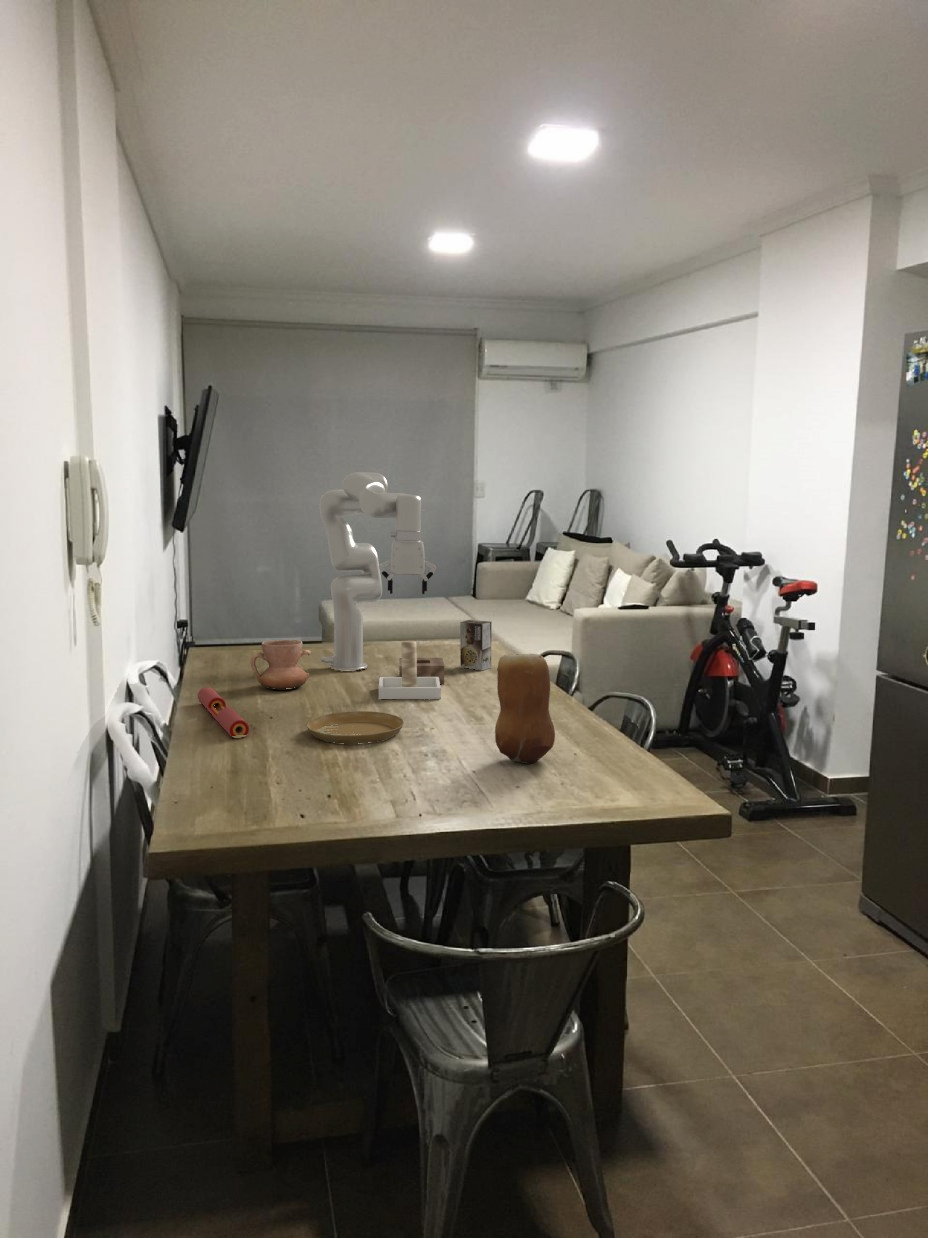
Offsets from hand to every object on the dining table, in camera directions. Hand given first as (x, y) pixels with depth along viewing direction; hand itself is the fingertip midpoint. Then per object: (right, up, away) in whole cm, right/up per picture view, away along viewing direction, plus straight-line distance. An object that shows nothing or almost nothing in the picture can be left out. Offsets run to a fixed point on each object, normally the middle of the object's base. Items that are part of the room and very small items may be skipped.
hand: (407, 593), depth 291 cm
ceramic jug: (-39, -29, +5) cm, 49 cm away
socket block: (+3, -27, +18) cm, 33 cm away
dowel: (+1, -29, -2) cm, 30 cm away
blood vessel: (-47, -35, -35) cm, 68 cm away
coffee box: (+21, -25, +39) cm, 50 cm away
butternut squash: (+31, -40, -72) cm, 88 cm away
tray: (+1, -30, -2) cm, 30 cm away
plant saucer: (-10, -37, -49) cm, 62 cm away
